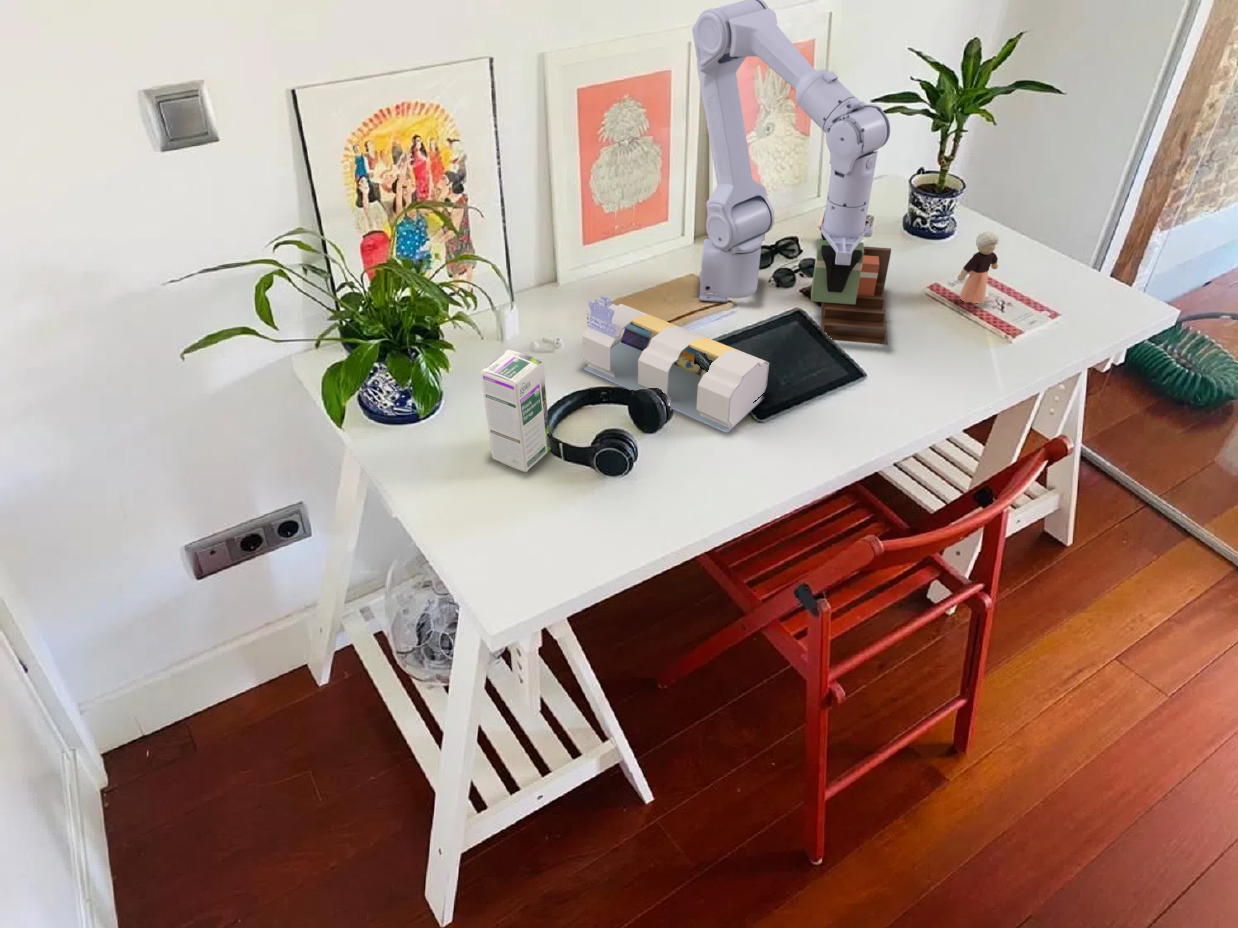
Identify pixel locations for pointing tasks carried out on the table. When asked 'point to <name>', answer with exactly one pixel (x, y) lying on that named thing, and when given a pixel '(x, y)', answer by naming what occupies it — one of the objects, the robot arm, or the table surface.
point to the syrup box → (516, 409)
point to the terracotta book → (868, 275)
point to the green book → (820, 280)
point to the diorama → (673, 364)
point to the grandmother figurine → (979, 269)
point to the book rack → (860, 310)
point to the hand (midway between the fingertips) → (834, 284)
